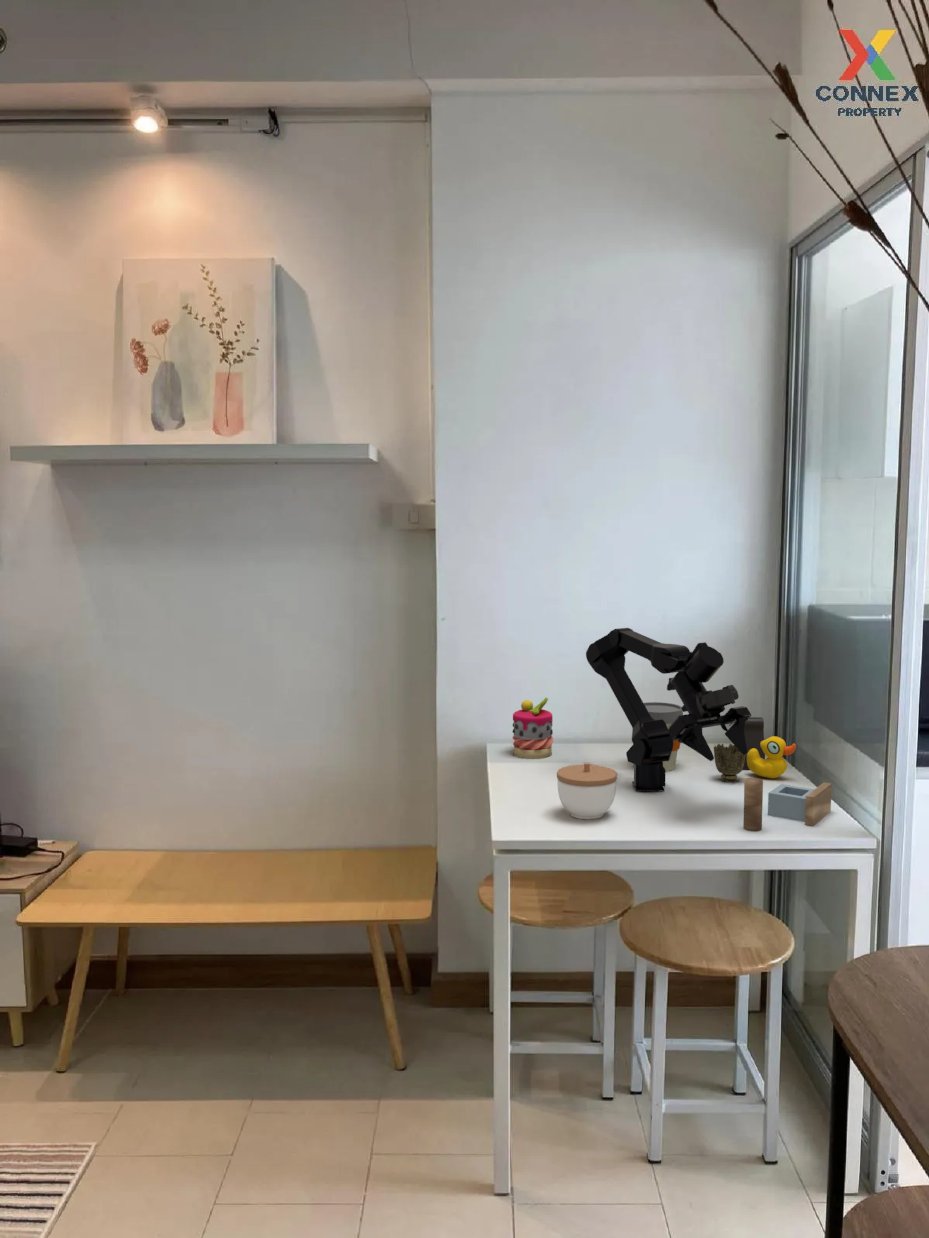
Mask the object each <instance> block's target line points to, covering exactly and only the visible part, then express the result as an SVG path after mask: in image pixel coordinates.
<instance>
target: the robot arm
mask: <svg viewBox="0 0 929 1238" xmlns="http://www.w3.org/2000/svg"><path fill="white" fill-rule="evenodd" d="M628 652H631V653H633V654H635V655H637V656H639V657H641V658H644V659H646V660H647V661H649V663H650V665H651V666H652V667H653V668H654V669H655V670H657V672H660V673H661V674H673V673H676V674H675V675H674V676H673V677H669V678H668V683H667V684H666V690H667V691H668V692H669V691H675V692H676V693H677V695H678V698H680V701H681V702H682V704H683V705H682V706H681V707H682V708H681V709H682V711H683V713H686V712H687V714H683V715H680V716H678V717H677V719H676V720H675V721H674V722H673V723H672V724H671V726H670V727H669V729H668V728H667V726H666V723H665V722H664V720H662V719H661V720H654V719H653V718H652V717H651V716H650V714H649V712H648V710H647V708H646V707H645V705H644V703H645V702H644V701H643V700H642V698H641V696H640V694H639V692H638V691H637V689H636V687H635V685H634V684H633V682H632V680H631V678H630V676H629V675H628V673H627V671H626V668H625V666H626V656H625V655H626V654H628ZM585 657H586V661H587V663H588V664H589V666H591V668H592V670H593V672H595V673H596V674H597V675H599V676H601V677H603V678H604V679H605V680H606V681H607V683H608V686H609V687H610V689H611V690H612V693H613V694H614V696H615V698H616V700H617V702H618V704H619V706H620V707H621V710H622V711H623V713H624V715H625V717H626V719H627V720H628V722H629V724H630V727H632V728H631V729H633V730H632V733H631V742H632V745H631V747H630V748H629V749H628V750H627V751H626V753H625V755H626V759H627V762H628V763H629V764H633V781H631V784H632V786H633V788H634V791H635V792H665V786H666V771H665V768H664V767H663V762H664V761H669V759H670V756H671V752H672V749H673V741H674V740H678V742H679V743H680V744H681V743H682V744H683V745H685V746H686V747H689V748H690V749H692V750H693V751H695V752H697V753H698V754H699V755H701V756H703V757H704V758H705V759H707V760H708V761H709V762H712V761H714V760H715V757H714V753H713V752H712V750H711V748H710V746H709V744H708V741H707V740H706V738H705V737H704V734H703V729H704V728H711V727H717V726H720V727H721V729H722V730H723V731H725V733H724V735H725V736H726V737H727V738H728V739H729V741H730V742H731V744H732V745H735V746H736V748H737V749H738V750H739V751H740V752H741V753H742V754H743V755H746V754H747V753H748V751H747V745H746V740H745V734H744V726H745V724H746V722H747V721H748V719H749V718H750V717H752V714H751V712H750V711H749V709H748V707H747V706H736V707H730V708H729V709H728V711H727V712H726V713H725V714H723V715H721V713H723V712H724V711H725V710H726V706H729V705H733V704H735V703H736V701H737V700H738V699H739V698H740V697H739V692H738V690H737V688H736V687H735V686H734V685H733V684H728V685H726V686H724V687H722V688H721V689H716V690H711V689H710V690H707V688H706V687H705V685H704V683H707V682H709V681H710V680H711V679H712V678H713V677H714V675H715V674H716V673H717V672H718V671H719V669H720V668H721V667H722V666H723V664H724V661H725V660H724V657H723V655H722V653H721V652H719V651H718V650H717V649H715V648H714V647H712V646H709V645H708V643H707V642H706V641H705V642H698V643H697V644H696V645H695V647H694V649H693V651H691V650H690V648H689V647H688V646H686V645H682V644H681V645H680V644H676V643H663V642H660V641H658V640H655V639H653V638H652V637H651V638H650V637H648V636H645V635H644V634H641V633H638V632H636V631H635V630H633V629H632V628H631V627H622V628H614V629H612V630H610V632H608V633H607V634H606V635H604V636H603V637H601V638H599V639H597V640H595V641H594V642H593V643H591V644H589V646H588V648H587V649H586V652H585Z"/></svg>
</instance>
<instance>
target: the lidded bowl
mask: <svg viewBox="0 0 929 1238" xmlns="http://www.w3.org/2000/svg"><path fill="white" fill-rule="evenodd" d="M556 778H557V791H558V797H559V798H558V799H559V801H560V803H561V805H562V806H563V807H564V809H565V810H566V811H567V812H568V814H569V816H571V817H572V818H575V819H579V820H597V819H600V818H602V817H604V814H605V813H607V811H609V809H611V807H612V805H613V804H614V800H615V798H616V791H617V780H618V774H617V771H616V770H615V769H613V768H610V767H607V766H603V765H595V764H590V762H584V763H583V764H574V765H568V766H564V767H561V768H559V769H558V770H557V772H556Z"/></svg>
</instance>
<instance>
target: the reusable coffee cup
mask: <svg viewBox="0 0 929 1238" xmlns="http://www.w3.org/2000/svg"><path fill="white" fill-rule="evenodd" d="M643 703H644V705H645V707H646V708H647V710H648V712H649V714H650V716H651V717H652V718H653V719H654V720H661V719H662V720H664V722H665V723H666V726H667V728H668V729H669V727H670V726H671V724H672V723H673V722H674V721H675V720H676V719H677V717H678V716H680V715H684V714H683V713H684V712H683V711H682V709H681V708H682V706H681V705H679V704H675V703H672V702H671V703H670V702H659V701H658V702H657V701H655V702H654V701H651V702H643ZM631 729H632V730H633V728H631ZM680 748H681V743H679V742H678V740H674V741H673V749H672V752H671V756H670V759H669V761H664V762H663V767H664V768H665V772H670V771H674V770H675V769H676V765H677V764H676V762H677V757H678V751H679V750H680Z"/></svg>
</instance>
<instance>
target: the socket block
mask: <svg viewBox="0 0 929 1238" xmlns="http://www.w3.org/2000/svg"><path fill="white" fill-rule="evenodd" d="M815 789H816V788H811V787H810V788H809V787H803V786H797V785H791V784H784V783H781V784H779V785H778V786H777V787H775V788H774V789H772V790H769V792H768V793H767V795H768V796H767V798H768V799H767V801H768V802H767V815H768V816H771V817H776V818H780V819H781V818H782V819H788V820H792V821H797V822H798V821H799V822H804V823H805V805H806V796H807V795H808V794H809V793H811V792H812V791H813V790H815Z"/></svg>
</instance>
